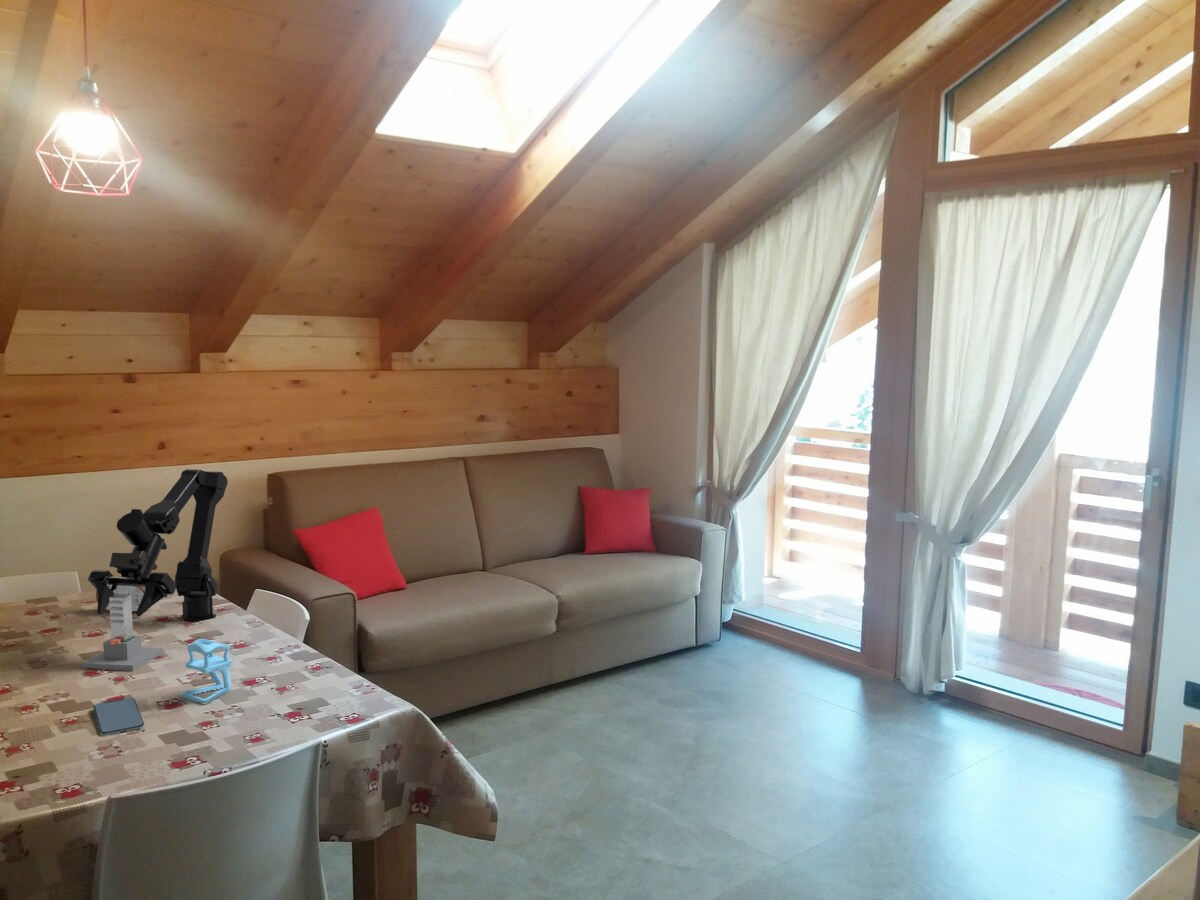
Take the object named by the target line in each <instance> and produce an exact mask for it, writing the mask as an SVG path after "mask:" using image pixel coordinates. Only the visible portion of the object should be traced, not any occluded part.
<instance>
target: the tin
mask: <svg viewBox="0 0 1200 900" xmlns="http://www.w3.org/2000/svg"><path fill="white" fill-rule="evenodd" d="M113 592H114V593H115V594H114V595H116V594H131V602H132V612H137V610H138V607H139V605H140V602H141V600H142V598H143V595H144V593H145V586H123V585H118V586H117V588H116V590H114V591H113ZM95 599H96V602H97V604H98V592H97V589H96V590H95ZM105 611H107V612H110V602H109V604H108V606H107V607H106V609H105Z"/></svg>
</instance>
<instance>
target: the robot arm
mask: <svg viewBox="0 0 1200 900" xmlns="http://www.w3.org/2000/svg"><path fill="white" fill-rule="evenodd" d="M228 482H229V481H228V477H227V476H226V475H225V474H224V472H222V471H209V470H202V469H194V468H193V469H189V468H188V469H185V470H182V472H181V474H180V477H179V479H178V480H176V483H175V484H174V485H173V486H172V487H171V488H170V490H169V491H168V492H167V494H166V495H165V497H163V499H162V500H161V501H159V502H157V503H155V504H153V505H151V506H150V507H148V508H147V509H146V510H145V511H144V512H143V511H142V509H140V508H132V509H131V510H130V512H128V513H126V514H124V515H123V516H122V517H120V518H119V519H118V520H117V522H116V528H117V530H118V532H119V533H120V534H121V535H122V536H123V537H124V539H125V540H126V541H127V542H128V543H129V544H130V545H132V546H133V548H132V550H131V552H127V553H126V552H112V553H111V556H110V557H111V558H110V560H109V568H115V569H116V572H117V574H120V575H121V576H114V575H113V573H111V571H110V570H104V569H103V570H102V569H101V570H100V569H94V570H92V571H91V572H90V573H89V576H88V578H87V581H88V582H89V583H90V584H91V585H92V586H93V587H94V588H95V589H96V590H97V592H98V603H97V615H99V616H102V614H103V613H104V612H105V611H106V610H105V609H106V607H107V606H108V604H109V602H110V601H109V598H110V597H112V596H114V594H115V593H114V592H113V591H114V590H116V588H117V586H118V585H123V586H145V593H144V595H143V598H142V600H141V602H140V605H139V607H138V610H137V613H135V615H136V616H137V617H141V616H143V614H144V613H146V612H147V611H148V610H149V609H151V608H152V607H153V606H154V605H155V604H156V603H158V602H159V601H160V600H162V599H163V598H167V597H168V595H169V596H170V595H171V596H173V595H174V594H175V592H177V596H179V597H183V601H182V603H181V604H182V607H181V608H182V614H181V615H180V616H181V617H180V618H182V619H185V620H188V621H190V622H199V621H203V620H206V619H207V620H208V619H212V618H215V617H217V614H215V613H214V609H213V607H214V606H213V597H214V596H216V595H217V594H218V591H219V584H218V582H217V581H216V580H215V579H214V577H212V574H213V573H212V571H213V569H212V566H211V564H210V562H209V559H208V555H209V551H210V550H209V549H210V542H211V537H212V530H213V524H214V518H215V512H216V506H217V505H218V504H219V502H220V501H221V500H222V498H223V497H224V496H225V493H226V492H225V491H226V489H227V487H228ZM192 496H193V499H194V501H195V507H194V514H193V520H192V525H191V531H190V537H189V543H188V550H187V554H186V555H187V556H186V557H185V558H184V560H182V561H178V562H177V564H176V572H175V575H174V579H173V578H172V577H171V576H170V575H169V573H167V572H152V571H156V570H157V568H158V566H157V564H156V562H157V560H158V557H159V556H160V552H161V550H165V551H166V550H167V549H168V548H167V547H168V546H167V543H166V542H165V538H163V537H162V536H161V535H172V534H173V533H174V532H175V531H176V529H177V527H178V525H179V523H180V520H181V519H180V513H181V511H182V510H183V509H184V507H185V506H186V504H187V503H188V502H189V500H190V499H191V498H192Z"/></svg>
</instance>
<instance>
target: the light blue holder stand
mask: <svg viewBox="0 0 1200 900" xmlns="http://www.w3.org/2000/svg"><path fill="white" fill-rule="evenodd" d="M186 648H187V649H186V650H187V652H188V654H189V661H188V662H185V668H187V669H192V670H196V671H199V672H200V673H203V674H208V673H209V675H210V677H211V678H212V680H213V682H215V684H213V685H208V686H204V687H198V688H194V689H190V690H186V691H182V692H181V698H182V697H183V699H185V698H187V700H189V699H190V700H189V701H192V700H194V701H193V702H195V701H197V702H196V703H198V702H200V703H199V704H201V703H208V702H210V701H212V700H213V701H215V700H216V698H217V697H218V698H220V697H221V695H222V696H223V695H225V694H226V692H227V693H229V692H230V690H231V691H232V685H231V684H232V683H231V677H230V668H231V666H232V665H233V660H232V659H229V650H230V648H231V644H230V643H229V644H224V643H220V642H215V640H214V639H209V640H208V639H205V638H198V639H196V640H194V641H192V642H191V643H190V644H189V645H187V646H186ZM220 649H221V650H225V651H224V652H223V657H220V656H217V655H216V654H215V655H214V652H215V651H216V650H220ZM193 652H195V653H199V654H201V655H203V656H204V657H201V658H200V659H195V656H194V653H193ZM217 672H220V674H221V676H222V679H221V678H220V676H219V674H218V673H217ZM222 680H223V681H222ZM223 687H224V688H223ZM221 688H222V689H221ZM216 689H218V690H216ZM210 690H214V691H215V692H214V693H213V694H211V695H210V696H208V697H206V698H203V697H200V696H198V694H197V693H199V694H202V693H201V692H204V693H207V692H206V691H209V692H211V691H210ZM228 691H229V692H228ZM224 693H225V694H224ZM193 694H195V695H193ZM219 696H220V697H219ZM218 698H217V699H218ZM214 699H215V700H214ZM213 701H212V702H213ZM210 703H211V702H210ZM208 704H209V703H208Z"/></svg>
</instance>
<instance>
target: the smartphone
mask: <svg viewBox="0 0 1200 900" xmlns="http://www.w3.org/2000/svg"><path fill="white" fill-rule="evenodd" d="M93 714H94V718H95V720H96V723H98V724H97V726H98V730H100V731H99V734H100V736H101V735H102V737H107V736H106V735H109V736H113V734H114V735H118V734H119V735H120V734H124V733H129V732H132V731H133V732H134V731H139V730H143V729H144V728H145V722H144V719H143V717H142V715H141V712H140V709H139V706H138V703H137V701H136V699H135V698H133V697H126V698H120V699H119V698H118V699H113V700H109V701H104V702H99V703H96V704H94V705H93Z"/></svg>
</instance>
